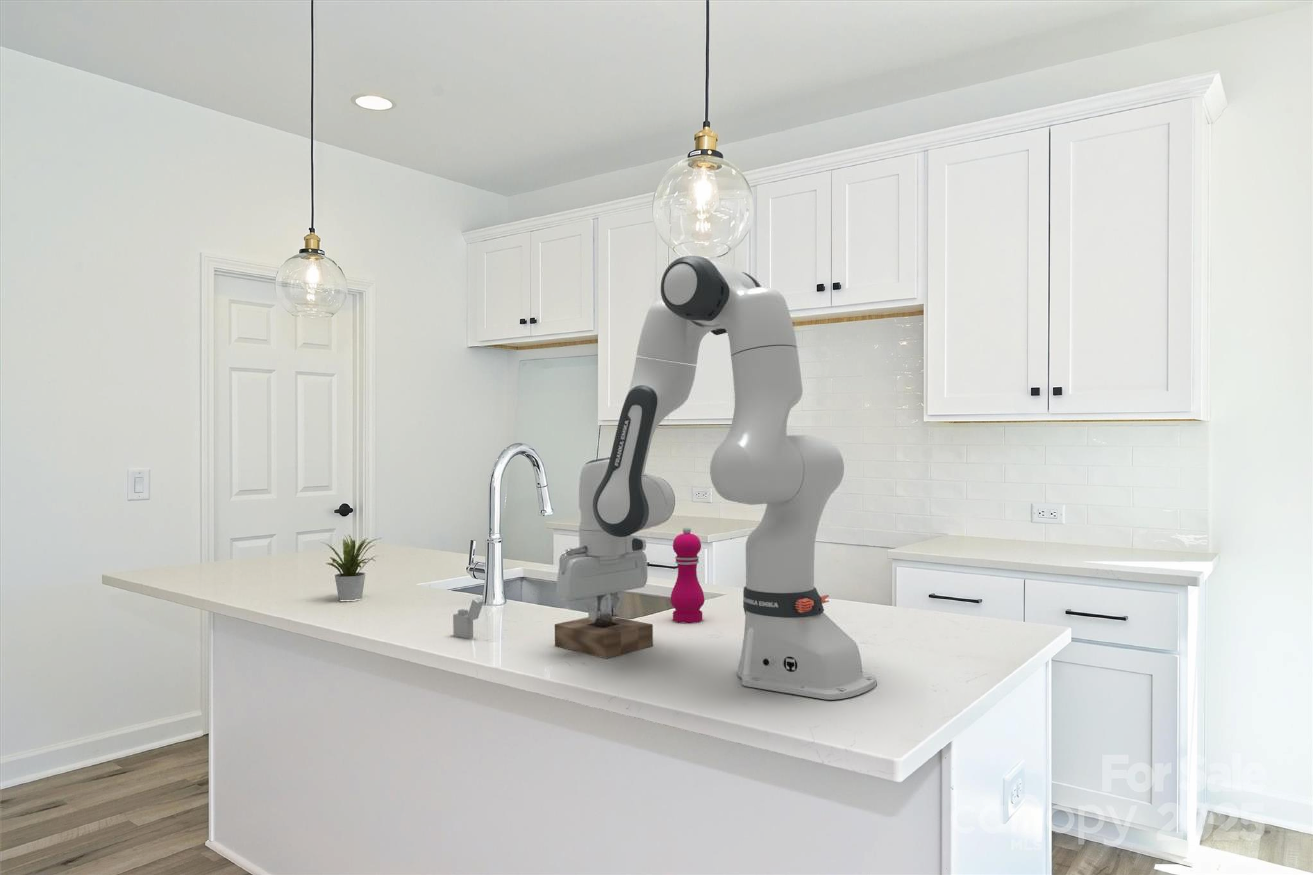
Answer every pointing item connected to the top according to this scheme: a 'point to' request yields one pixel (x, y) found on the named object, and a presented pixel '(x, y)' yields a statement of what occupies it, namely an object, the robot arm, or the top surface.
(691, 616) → the pepper mill
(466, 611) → the lighter
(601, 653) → the walnut hole block
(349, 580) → the house plant
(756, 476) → the robot arm
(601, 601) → the steel peg
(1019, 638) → the top surface
